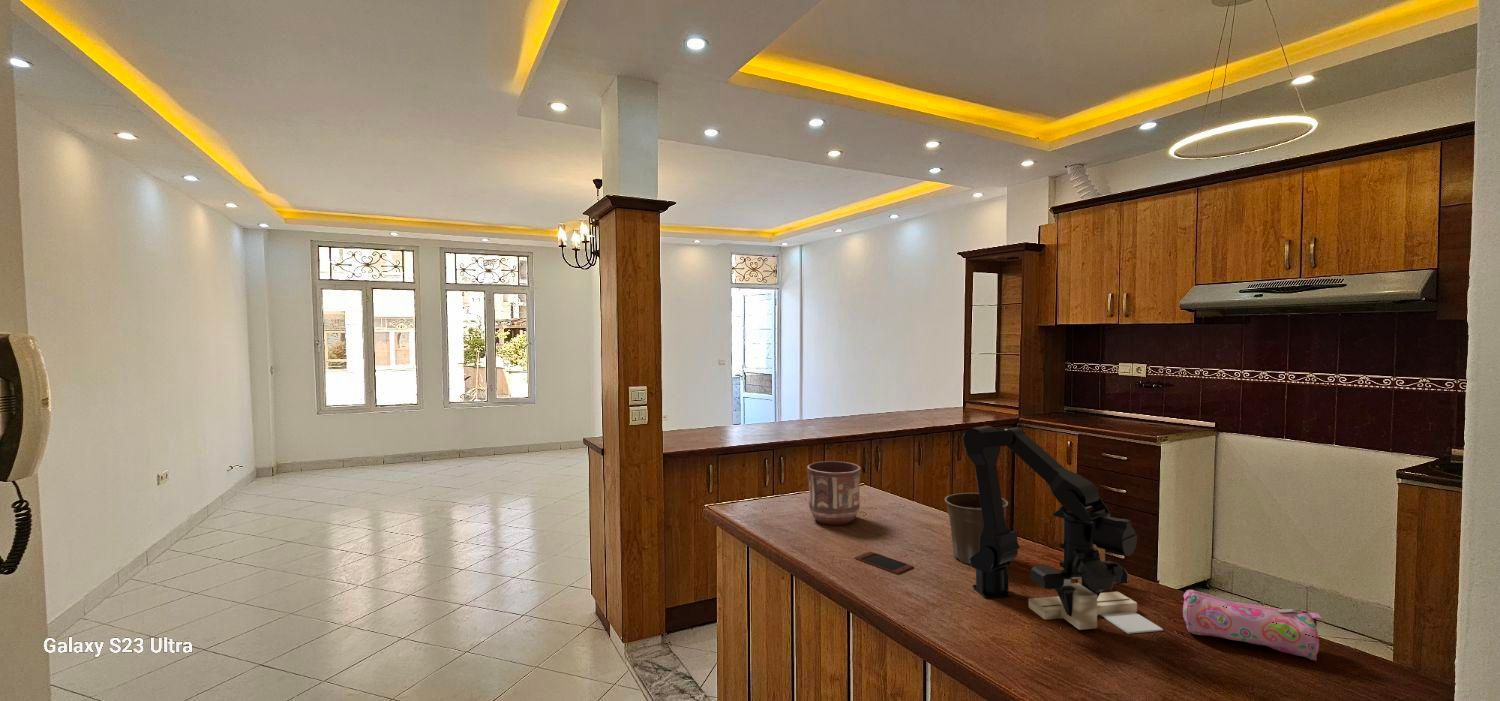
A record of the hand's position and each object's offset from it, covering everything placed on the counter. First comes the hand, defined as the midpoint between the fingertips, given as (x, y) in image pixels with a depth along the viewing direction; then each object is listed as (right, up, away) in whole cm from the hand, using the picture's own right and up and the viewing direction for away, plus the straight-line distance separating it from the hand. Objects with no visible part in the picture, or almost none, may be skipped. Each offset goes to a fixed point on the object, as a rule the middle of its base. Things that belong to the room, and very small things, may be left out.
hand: (1078, 614), depth 132 cm
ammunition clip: (+14, -2, +21) cm, 26 cm away
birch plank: (+5, -2, +8) cm, 9 cm away
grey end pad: (+12, -2, +1) cm, 12 cm away
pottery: (-41, -1, +75) cm, 86 cm away
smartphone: (-33, -2, +37) cm, 50 cm away
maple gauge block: (0, -2, 0) cm, 2 cm away
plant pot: (-7, -2, +39) cm, 40 cm away
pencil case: (+29, -3, -8) cm, 31 cm away
